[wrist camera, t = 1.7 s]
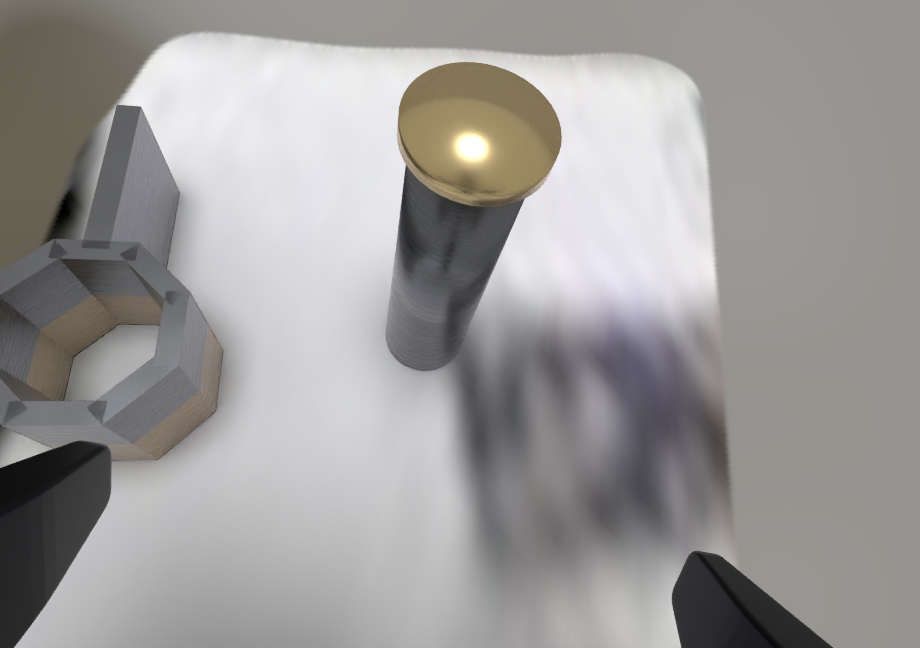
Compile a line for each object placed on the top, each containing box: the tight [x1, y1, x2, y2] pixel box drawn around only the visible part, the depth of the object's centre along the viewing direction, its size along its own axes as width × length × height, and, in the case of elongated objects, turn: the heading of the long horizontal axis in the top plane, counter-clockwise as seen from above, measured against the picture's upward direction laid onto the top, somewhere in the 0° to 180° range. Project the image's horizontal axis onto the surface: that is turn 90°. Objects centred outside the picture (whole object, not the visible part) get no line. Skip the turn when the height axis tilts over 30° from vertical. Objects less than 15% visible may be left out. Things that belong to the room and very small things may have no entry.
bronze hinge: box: [0, 105, 223, 461], centre depth 20 cm, size 12×12×5 cm
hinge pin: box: [386, 62, 562, 371], centre depth 19 cm, size 4×4×12 cm
